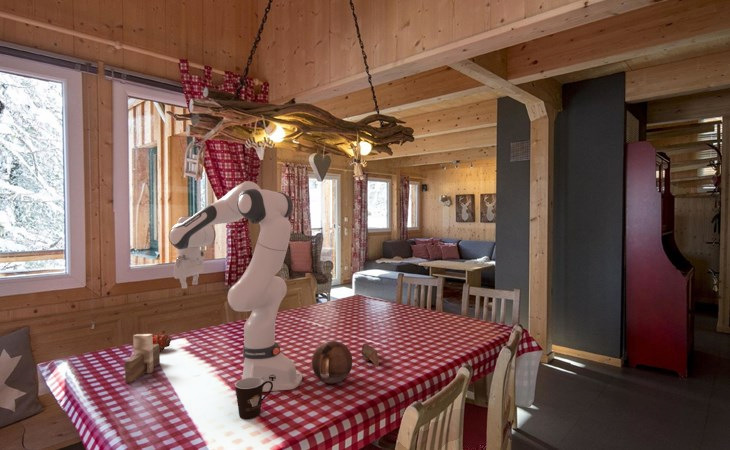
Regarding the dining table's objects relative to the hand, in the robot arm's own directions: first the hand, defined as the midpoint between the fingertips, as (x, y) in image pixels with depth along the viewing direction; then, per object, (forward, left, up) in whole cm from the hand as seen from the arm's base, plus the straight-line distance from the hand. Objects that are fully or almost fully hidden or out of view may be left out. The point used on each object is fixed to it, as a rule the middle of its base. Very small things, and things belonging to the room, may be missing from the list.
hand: (189, 286), depth 173 cm
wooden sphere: (-63, +22, -32) cm, 74 cm away
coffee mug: (-41, +46, -32) cm, 70 cm away
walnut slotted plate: (+14, +12, -32) cm, 37 cm away
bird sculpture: (-77, +2, -33) cm, 84 cm away
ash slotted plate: (+14, +12, -32) cm, 37 cm away
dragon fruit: (+22, -13, -33) cm, 41 cm away
